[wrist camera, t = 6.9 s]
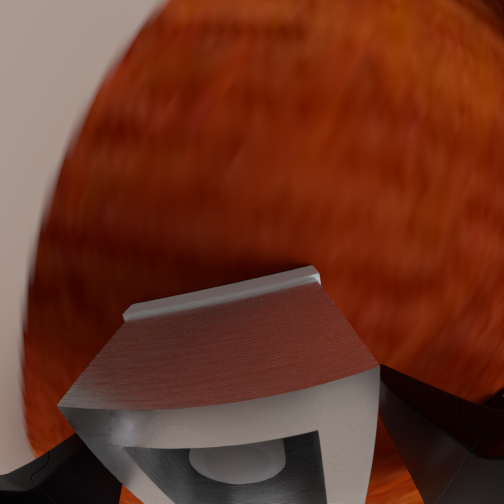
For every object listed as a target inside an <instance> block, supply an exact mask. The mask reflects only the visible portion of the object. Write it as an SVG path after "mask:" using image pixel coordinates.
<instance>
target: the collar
mask: <svg viewBox="0 0 504 504" xmlns="http://www.w3.org/2000/svg"><path fill="white" fill-rule="evenodd" d="M379 384H380V365H379V364H378V362H377V361H376V360H375V358H374V357H373V355H372V354H371V353H370V351H369V350H368V348H367V347H366V346H365V344H364V343H363V341H362V340H361V339H360V337H359V336H358V335H357V333H356V332H355V330H354V329H353V328H352V326H351V325H350V324H349V322H348V321H347V319H346V318H345V317H344V315H343V314H342V313H341V311H340V310H339V309H338V307H337V306H336V305H335V303H334V302H333V301H332V299H331V298H330V297H329V295H328V294H327V293H326V291H325V290H324V289H323V287H322V286H321V285H320V283H319V282H318V281H317V279H316V278H312V279H308V280H304V281H300V282H296V283H292V284H288V285H283V286H279V287H275V288H271V289H266V290H262V291H257V292H253V293H249V294H244V295H239V296H235V297H230V298H225V299H221V300H216V301H211V302H206V303H201V304H196V305H191V306H186V307H181V308H176V309H171V310H165V311H160V312H155V313H149V314H144V315H138V316H132V317H129V318H128V319H127V320H126V321H125V322H124V324H123V325H122V326H121V327H120V328H119V329H118V331H117V332H116V333H115V334H114V335H113V336H112V338H111V339H110V340H109V341H108V342H107V344H106V345H105V346H104V347H103V348H102V350H101V351H100V352H99V353H98V354H97V356H96V357H95V358H94V359H93V360H92V362H91V363H90V364H89V365H88V367H87V368H86V369H85V370H84V372H83V373H82V374H81V375H80V376H79V378H78V379H77V380H76V382H75V383H74V384H73V385H72V387H71V388H70V389H69V390H68V392H67V393H66V394H65V396H64V397H63V398H62V399H61V401H60V402H59V403H58V405H57V407H58V408H59V410H60V411H61V412H62V414H63V415H64V417H65V418H66V419H67V421H68V422H69V424H70V425H71V426H72V428H73V429H74V430H75V431H76V433H77V434H78V435H79V437H80V438H81V439H82V440H83V442H84V443H85V444H86V445H87V446H88V448H89V449H90V450H91V451H92V452H93V453H94V455H95V456H96V457H97V458H98V459H99V460H100V461H101V462H102V463H103V465H104V466H105V467H106V468H107V469H108V470H109V471H110V472H111V473H112V474H113V475H114V476H115V477H116V478H117V479H118V480H119V481H120V482H121V483H122V484H123V485H124V486H125V487H126V488H127V489H128V490H130V491H131V492H132V493H133V494H134V495H135V496H136V497H137V498H138V499H140V500H141V501H142V502H143V503H144V504H364V503H365V499H366V494H367V489H368V484H369V479H370V473H371V467H372V460H373V453H374V446H375V437H376V428H377V417H378V403H379ZM279 438H283V442H284V449H285V456H286V463H285V466H284V468H283V469H282V470H281V471H280V472H279V473H278V474H276V475H275V476H273V477H271V478H269V479H266V480H263V481H260V482H255V483H247V484H230V483H225V482H220V481H216V480H213V479H210V478H208V477H206V476H204V475H202V474H200V473H199V472H198V471H196V470H195V469H194V468H193V466H192V465H191V463H190V461H189V454H190V448H206V447H220V446H231V445H240V444H248V443H255V442H262V441H268V440H274V439H279Z"/></svg>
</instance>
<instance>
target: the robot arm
mask: <svg viewBox="0 0 504 504" xmlns="http://www.w3.org/2000/svg"><path fill="white" fill-rule="evenodd" d="M379 365H380V384H379V403H378V411H379V414H380V416H381V419H382V421H383V424H384V426H385V428H386V430H387V432H388V434H389V435H390V437H391V439H392V441H393V443H394V445H395V447H396V448H397V450H398V452H399V454H400V456H401V458H402V460H403V462H404V464H405V466H406V467H407V469H408V471H409V473H410V475H411V477H412V479H413V481H414V483H415V485H416V487H417V489H418V491H419V493H420V495H421V497H422V499H423V501H424V503H425V504H504V391H502V392H501V393H500V394H499V395H497V396H496V397H495V398H493V399H492V400H490V401H489V402H488V403H486V404H485V405H483V406H482V405H479V404H476V403H473V402H471V401H468V400H465V399H463V398H460V397H459V398H458V397H457V396H455V395H452V394H450V393H448V392H445V391H443V390H440V389H438V388H436V387H433V386H431V385H428V384H426V383H424V382H421V381H419V380H417V379H415V378H412V377H410V376H408V375H405V374H403V373H401V372H399V371H396V370H394V369H392V368H390V367H388V366H385V365H383V364H379ZM122 485H123V484H122V483H121V482H120V481H119V480H118V479H117V478H116V477H115V476H114V475H113V474H112V473H111V472H110V471H109V470H108V469H107V468H106V467H105V466H104V465H103V463H102V462H101V461H100V460H99V459H98V458H97V457H96V456H95V455H94V453H93V452H92V451H91V450H90V449H89V448H88V446H87V445H86V444H85V443H84V442H83V440H82V439H81V438H80V437H79V435H78V434H77V433H75V434H73V435H72V436H70V437H69V438H67V439H66V440H65V441H63V442H62V443H60V444H59V445H57V446H56V447H54V448H53V449H51V451H48V452H46V453H45V454H43V455H42V456H40V457H39V458H37V459H35V460H33V461H32V462H30V463H28V464H26V465H24V466H22V467H20V468H18V469H16V470H14V471H12V472H10V473H8V474H4V475H0V504H119V500H120V495H121V490H122Z"/></svg>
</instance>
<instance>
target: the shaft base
mask: <svg viewBox="0 0 504 504" xmlns="http://www.w3.org/2000/svg"><path fill="white" fill-rule="evenodd" d="M312 278H316V279H317V281H318V282H319V283H320V285H321V282H320V276H319V273H318V271H317V270H316V269H315V268H314V267H313V266H312V265H311V266H307V267H302V268H298V269H294V270H290V271H286V272H281V273H277V274H273V275H268V276H264V277H260V278H255V279H251V280H246V281H242V282H237V283H233V284H228V285H224V286H219V287H214V288H210V289H205V290H200V291H196V292H191V293H186V294H181V295H176V296H172V297H167V298H162V299H157V300H152V301H147V302H141V303H136V304H132V305H131V306H130V307H129V308H128V309H127V310H126V311H125V312H124V313H123V314H122V315H123V318H124V320H125V321H126V320H127V319H128V318H129V317H132V316H138V315H144V314H149V313H155V312H160V311H165V310H171V309H176V308H181V307H186V306H191V305H196V304H201V303H206V302H211V301H216V300H221V299H225V298H230V297H235V296H239V295H244V294H249V293H253V292H257V291H262V290H266V289H271V288H275V287H279V286H283V285H288V284H292V283H296V282H300V281H304V280H308V279H312ZM189 461H190V463H191V465H192V466H193V468H194V469H195V470H196V471H198V472H199V473H200V474H202V475H204V476H206V477H208V478H210V479H213V480H216V481H220V482H225V483H230V484H247V483H255V482H260V481H263V480H266V479H269V478H271V477H273V476H275V475H276V474H278V473H279V472H280V471H281V470H282V469H283V468H284V466H285V463H286V456H285V449H284V442H283V438H279V439H274V440H268V441H262V442H255V443H248V444H240V445H231V446H220V447H206V448H190V454H189Z"/></svg>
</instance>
